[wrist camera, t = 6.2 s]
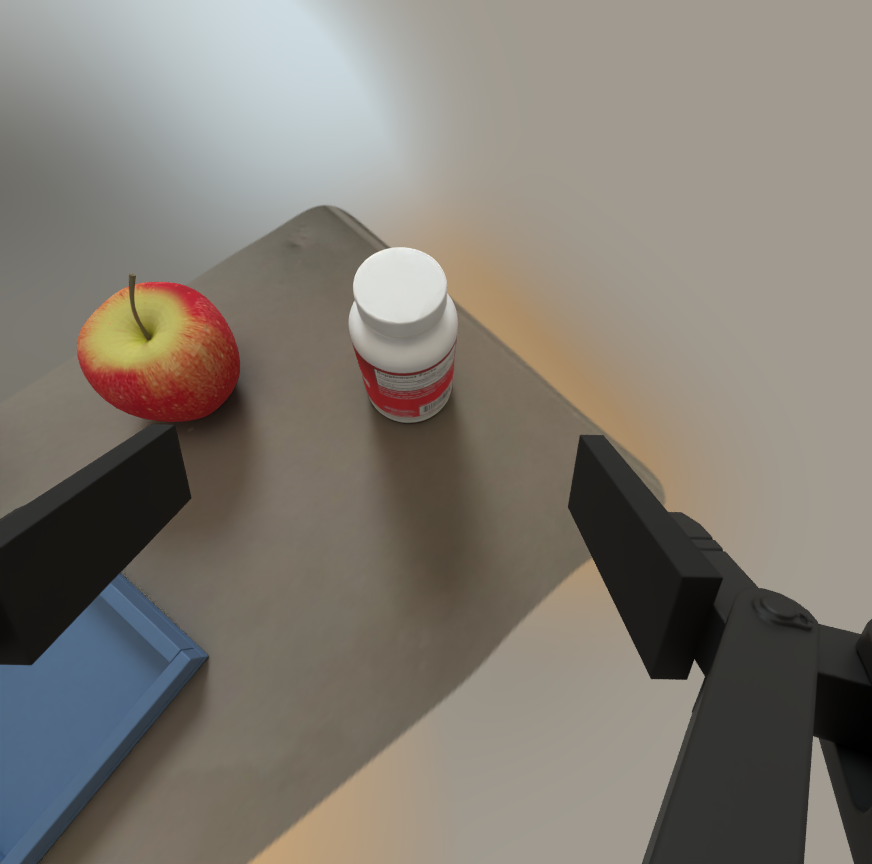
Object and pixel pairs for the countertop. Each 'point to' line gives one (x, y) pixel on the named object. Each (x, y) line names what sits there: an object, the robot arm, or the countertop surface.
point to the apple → (159, 352)
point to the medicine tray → (83, 713)
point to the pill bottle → (404, 333)
